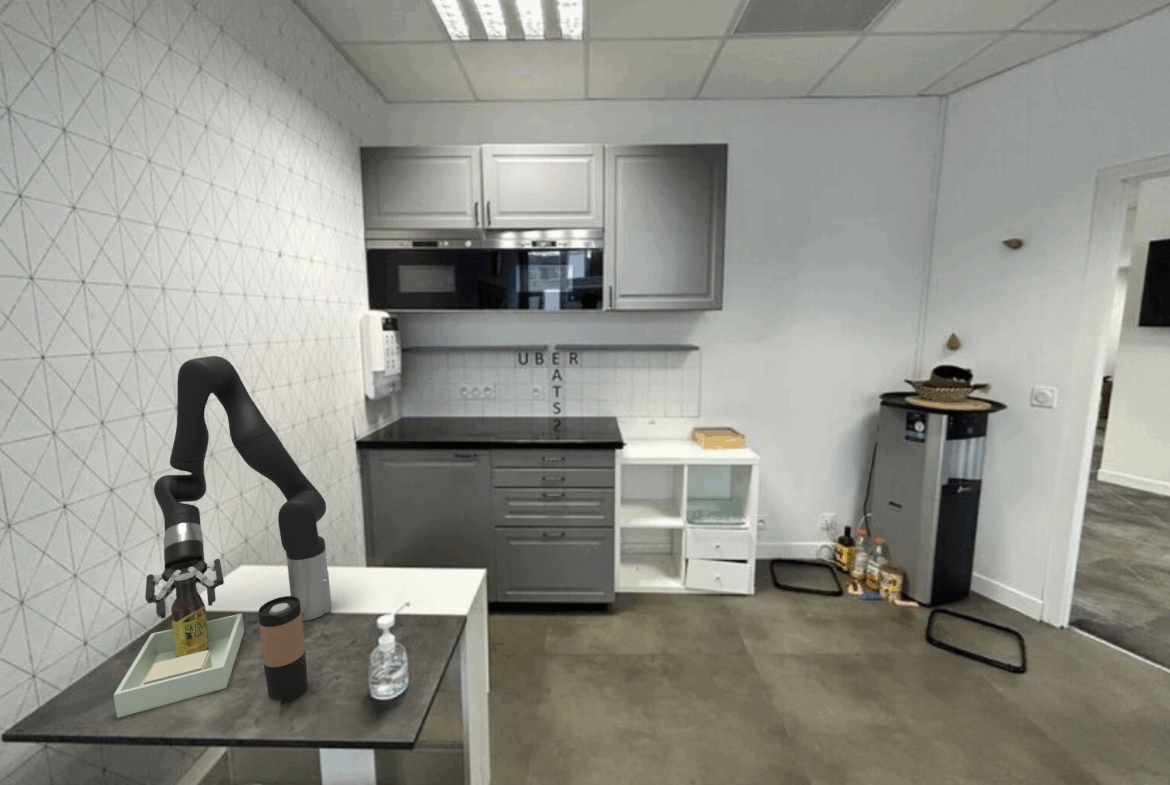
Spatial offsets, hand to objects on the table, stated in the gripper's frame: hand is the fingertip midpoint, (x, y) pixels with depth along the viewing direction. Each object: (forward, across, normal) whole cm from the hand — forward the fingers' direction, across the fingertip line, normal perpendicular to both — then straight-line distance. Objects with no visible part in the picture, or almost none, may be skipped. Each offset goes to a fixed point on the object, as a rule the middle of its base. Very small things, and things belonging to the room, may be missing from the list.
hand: (187, 610), depth 114 cm
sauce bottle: (+8, 0, +10) cm, 12 cm away
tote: (+12, -1, +7) cm, 14 cm away
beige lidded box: (+15, -2, +2) cm, 16 cm away
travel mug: (+27, +17, -8) cm, 32 cm away
